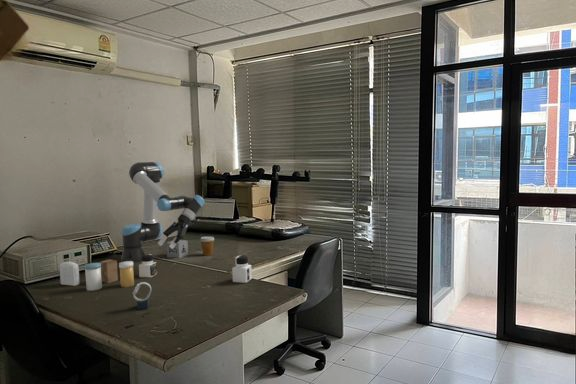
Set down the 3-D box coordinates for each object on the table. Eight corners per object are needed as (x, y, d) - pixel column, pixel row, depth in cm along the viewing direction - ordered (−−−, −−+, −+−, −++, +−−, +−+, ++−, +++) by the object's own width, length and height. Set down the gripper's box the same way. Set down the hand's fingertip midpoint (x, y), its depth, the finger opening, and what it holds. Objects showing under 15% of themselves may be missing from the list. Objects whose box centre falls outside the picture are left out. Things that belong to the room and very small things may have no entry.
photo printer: (81, 283, 225) (79, 261, 224) (74, 286, 221) (73, 263, 220) (65, 282, 228) (64, 260, 227) (59, 285, 224) (57, 262, 223)
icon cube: (167, 257, 283) (166, 242, 282) (176, 253, 292) (175, 239, 291) (179, 258, 279) (178, 243, 278) (188, 254, 289) (187, 240, 288)
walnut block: (101, 281, 228) (100, 261, 227) (110, 278, 233) (109, 259, 232) (108, 283, 225) (107, 262, 224) (117, 280, 230) (116, 260, 229)
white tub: (83, 288, 216) (82, 264, 215) (99, 285, 221) (97, 261, 220) (89, 291, 210) (87, 267, 209) (104, 288, 215) (103, 264, 215)
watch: (133, 306, 186) (132, 282, 186) (152, 304, 189) (151, 280, 188) (132, 310, 181) (131, 285, 180) (152, 308, 183) (150, 283, 182)
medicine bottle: (150, 277, 233) (149, 256, 232) (139, 277, 234) (138, 256, 234) (157, 274, 240) (156, 253, 239) (146, 273, 241) (144, 253, 240)
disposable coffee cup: (217, 253, 289) (217, 236, 288) (209, 256, 280) (208, 239, 279) (206, 252, 293) (205, 235, 292) (198, 255, 284) (197, 238, 283)
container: (252, 278, 224) (251, 255, 223) (246, 283, 217) (245, 258, 216) (239, 278, 227) (238, 254, 226) (232, 282, 219) (231, 257, 218)
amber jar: (118, 285, 220) (116, 263, 219) (131, 282, 225) (129, 260, 224) (123, 288, 215) (122, 265, 214) (136, 284, 220) (135, 262, 219)
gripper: (201, 222, 246) (180, 252, 237) (179, 219, 264) (159, 247, 254) (193, 214, 242) (171, 244, 233) (171, 212, 260) (150, 240, 250)
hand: (164, 246), depth 244 cm, fingers open, 13 cm apart
